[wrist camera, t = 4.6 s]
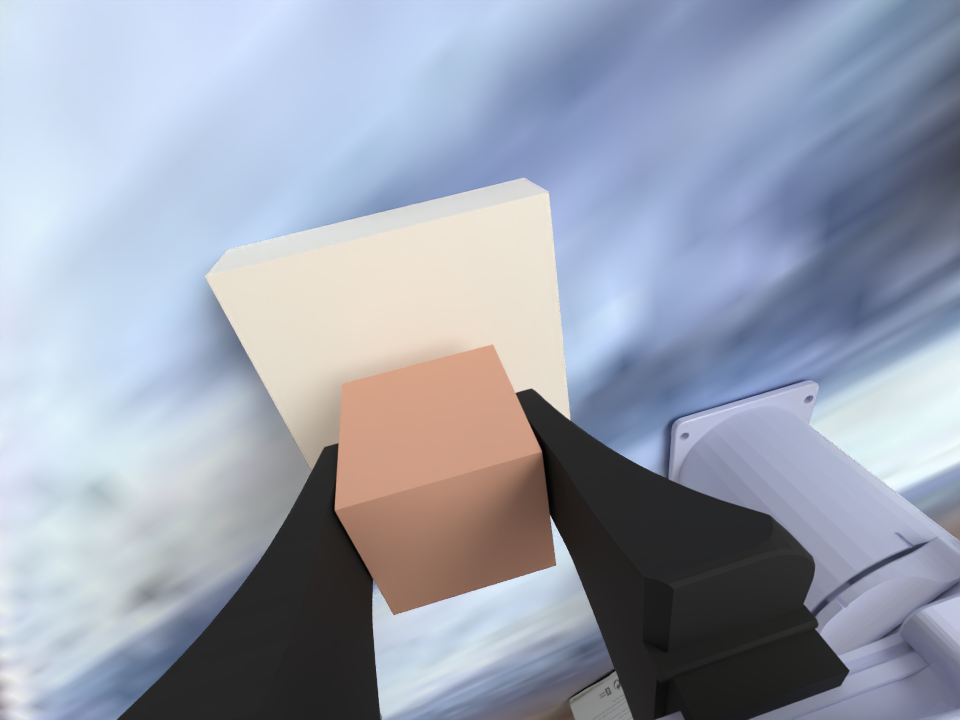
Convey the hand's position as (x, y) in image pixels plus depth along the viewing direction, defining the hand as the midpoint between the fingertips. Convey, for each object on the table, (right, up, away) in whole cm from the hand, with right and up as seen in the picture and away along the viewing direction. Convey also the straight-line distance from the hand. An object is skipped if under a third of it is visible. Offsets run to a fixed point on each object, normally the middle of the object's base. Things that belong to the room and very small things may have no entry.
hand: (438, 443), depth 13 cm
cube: (0, 0, +2) cm, 2 cm away
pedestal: (-1, +3, +5) cm, 6 cm away
